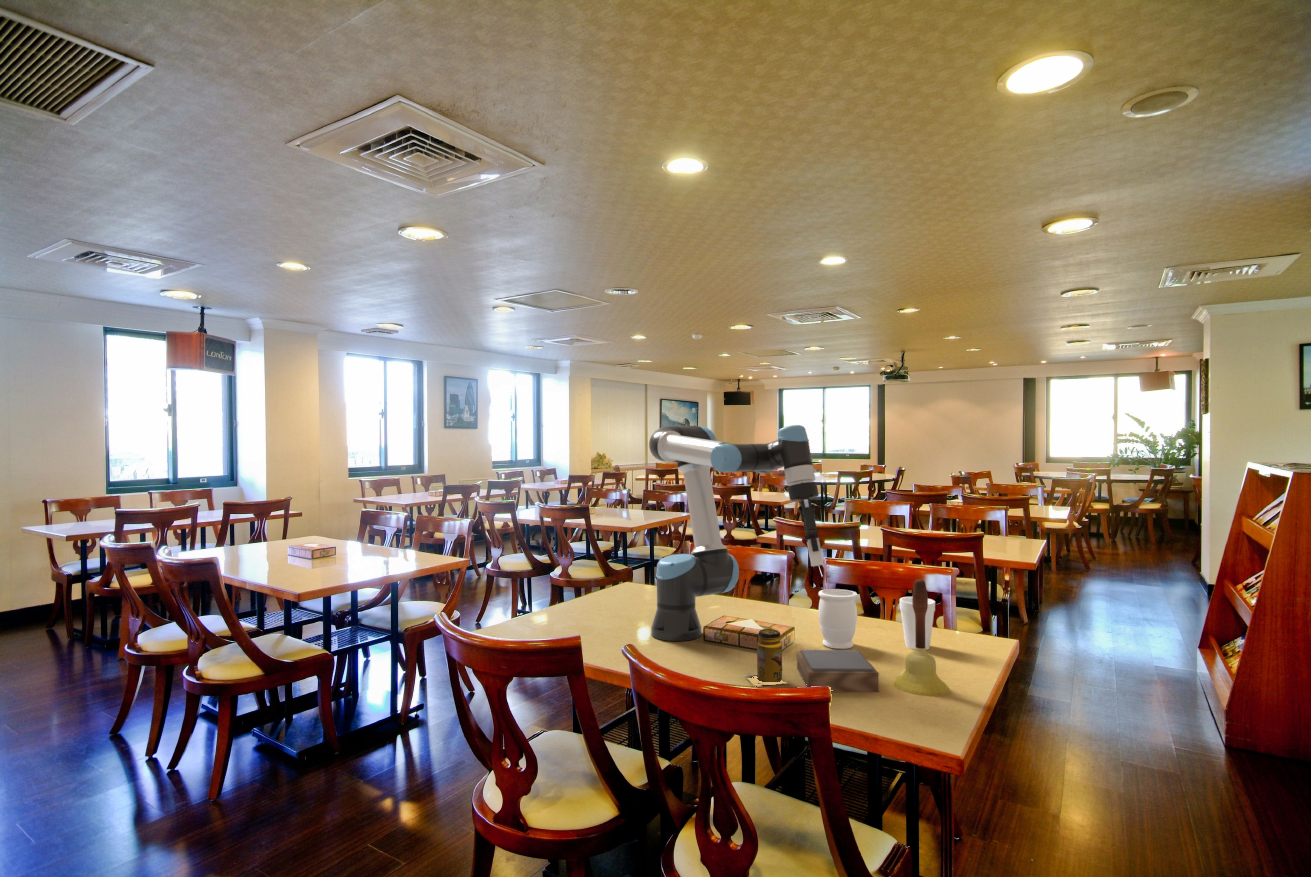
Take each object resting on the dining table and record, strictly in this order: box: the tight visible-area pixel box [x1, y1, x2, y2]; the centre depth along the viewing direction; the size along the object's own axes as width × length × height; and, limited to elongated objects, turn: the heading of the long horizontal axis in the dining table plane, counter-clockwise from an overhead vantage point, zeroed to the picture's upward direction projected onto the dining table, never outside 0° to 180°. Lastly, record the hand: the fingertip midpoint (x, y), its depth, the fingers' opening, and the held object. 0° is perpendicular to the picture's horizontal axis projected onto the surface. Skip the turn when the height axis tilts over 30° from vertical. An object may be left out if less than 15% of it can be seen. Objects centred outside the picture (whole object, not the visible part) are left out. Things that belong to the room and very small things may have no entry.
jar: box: [818, 588, 858, 650], centre depth 192 cm, size 11×10×15 cm
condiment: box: [744, 628, 783, 688], centre depth 164 cm, size 7×8×12 cm
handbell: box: [892, 579, 950, 697], centre depth 159 cm, size 12×12×25 cm
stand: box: [796, 649, 880, 693], centre depth 164 cm, size 16×16×5 cm
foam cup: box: [899, 596, 936, 651], centre depth 190 cm, size 10×9×13 cm
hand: (817, 565), depth 172 cm, fingers open, 13 cm apart
